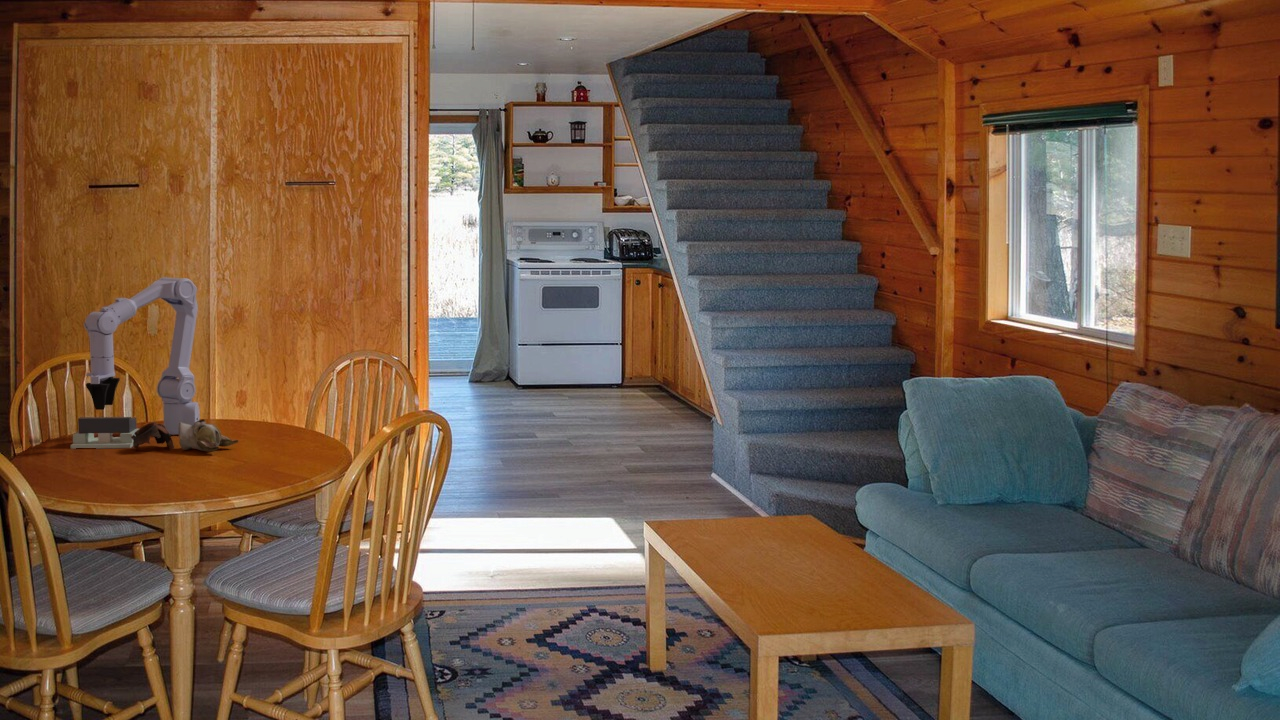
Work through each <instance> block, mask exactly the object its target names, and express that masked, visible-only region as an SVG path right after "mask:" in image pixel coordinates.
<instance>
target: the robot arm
mask: <svg viewBox="0 0 1280 720" xmlns="http://www.w3.org/2000/svg"><path fill="white" fill-rule="evenodd" d="M197 293H198V287H197V286H196V284H195V283H194V282H193V281H192V280H191V279H189V278H187V277H185V278H184V277H183V278H182V277H181V278H180V277H179V278H177V277H169V276H163V277H161V278H159V279H157V280H154V281H153V282H152V283H151V284H150V285H149V286H147V287H146V288H144V289H142V290H141V291H139V292H138V293H136V294H135V295H134V296H131V297H130V298H128V297H116V298H115V299H114V301H115V302H113V303H111V304H109V305H107V306H102V307H101V308H100V309H101V310H100V311H92V312H90V313H89V314H88V315H87V316H86V318H85V322H83V327H84V329H85V330H86V331H87V334H88V338H89V353H90V354H89V356H90V372H87V373H86V374H85V375H86V377H90V382H87V383H85V386H86V389H87V391H88V392H89V394H90V396H91V400H92V402H93V405H94V409H95V410H96V411H97V410H98V411H99V410H101V411H103V410H105V408H106V406H113V404H114V400H115V395H116V391H117V387H118V385H119V383H120V380H121V378H120V377H115V376H116V371H115V357H114V356H115V354H114V333H115V332H116V331H117V329H118V326H120V325H121V324H123V323H125V322H126V321H129V320H130V319H132V318H133V317H135V316H136V314H137V310H138V309H141V308H142V307H144V306H147V305H148V304H150V303H152V302H154V301H156V300H158V299H161V300H163V301H164V302H166V303H167V304H169V305H170V306H171V307H172V308H173V310H174V311H175V312H176V315H175V321H174V328H173V333H172V334H173V335H172V340H171V341H172V342H171V347H170V355H169V362H168V367H166V368H165V369H164V370H163V371H162V373H161V377H160V379H159V381H158V383H157V384H156V392H157V394H158V396H159V397H160V398H161V402H162V404H163V405H162V407H163V409H162V411H163V425H164V426H165V428H166V430H167V431H168V432H169V434H170V436H172V435H174V436H175V435H176V436H177V435H178V436H179V423H180V422H182V423H185V424H189V425H191V426H193V425H194V423H195V422H197V421H199V420H201V419H200V418H201V417H200V406H199V402H197V401H192V400H193V398H194V397H195V394H196V385H195V380H196V379H195V375H194V374H193V372H192V371H191V369H190V365H191V359H192V357H191V356H192V352H193V344H194V338H195V337H194V336H195V331H196V324H197V319H198V318H197V317H198V310H199V305H198V302H197Z"/></svg>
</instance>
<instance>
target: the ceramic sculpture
mask: <svg viewBox="0 0 1280 720" xmlns="http://www.w3.org/2000/svg"><path fill="white" fill-rule="evenodd" d="M178 439H179V442H178V443H179V446H180V448H181V449H182V450H185V451H186V450H187V451H188V450H192V449H196V450H198V451H201V452H206V453H211V452H214V451H217V450H219V448H220V447H222V448H224V447H229V446H232V445H235V444H238V443H239V441H240V440H238V439H235V440H233V439H230V438H229V437H228V436H226V435H223V434H222V432H221V430H220V428H219V427H218V426H217V425H215V424H212V423H206V421H205V419H203V418H202V419H200V420H199V421H197V422H195V423H194V425H193V426H191V425H189V424H185V423H182V422H180V423H179V435H178Z"/></svg>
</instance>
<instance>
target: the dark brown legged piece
mask: <svg viewBox="0 0 1280 720" xmlns="http://www.w3.org/2000/svg"><path fill="white" fill-rule="evenodd" d="M138 429H139V430H137V431H136V432H135V433H134V434H135V435H136V436H135V435H133V436H132V437H131V438H132V439H133V440H134V441H133V446H132V447H133V448H134V450H136V451H138V449H139V446H142V445H144V444H148V445H149V444H151V442H150V441H151V440H150V438H154V440H155V441H156V444H161V445H163V444H165V443H166V447H167V448H168V449H169V451H172V450H174V449H175V445H174V442H173V438H172V437H171V436H172V435H170V434H169V432H168V431H167V430H166V428H165V426H164V424H162V423H158V424H157V422H156V421H154V422H153V421H152V422H148V423H147V424H145V425H143V426H142V427H140V428H138Z"/></svg>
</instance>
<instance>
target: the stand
mask: <svg viewBox="0 0 1280 720" xmlns="http://www.w3.org/2000/svg"><path fill="white" fill-rule="evenodd" d="M139 429H140V428H136V429H135V430H133V431H132V432H130V433H119V436H115V437H114V436H113V433H97V437H95V433H79V430H78V431H76V432H74V433H73V434H72V444H70V449H72V450H76V448H96V449H131V448H132V447H133V441H134V440H133V439H132V438H131V437H132V436H133V435H135V434H134V433H135V432H136V431H137V430H139ZM135 436H136V435H135Z"/></svg>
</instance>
